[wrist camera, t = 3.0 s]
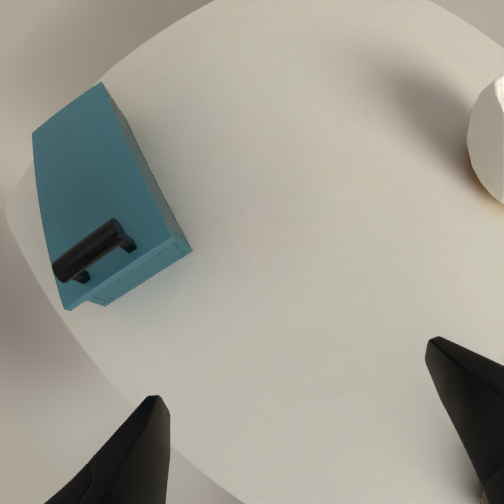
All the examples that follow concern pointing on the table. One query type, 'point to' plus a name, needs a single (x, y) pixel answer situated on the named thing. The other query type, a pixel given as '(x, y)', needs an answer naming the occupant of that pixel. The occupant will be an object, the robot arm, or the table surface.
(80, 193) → the lid
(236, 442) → the table surface
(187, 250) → the teal rectangular box
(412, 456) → the table surface
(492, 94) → the cup
